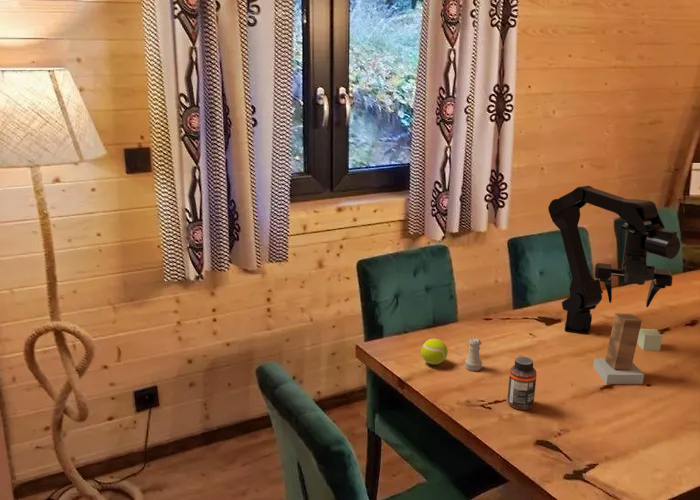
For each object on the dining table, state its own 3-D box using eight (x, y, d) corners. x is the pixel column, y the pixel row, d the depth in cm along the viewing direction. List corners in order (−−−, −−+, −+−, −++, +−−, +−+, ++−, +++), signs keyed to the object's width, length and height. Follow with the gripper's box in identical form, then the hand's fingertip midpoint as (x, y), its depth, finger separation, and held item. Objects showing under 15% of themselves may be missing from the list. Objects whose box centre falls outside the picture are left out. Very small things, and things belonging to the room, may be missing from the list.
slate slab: (592, 368, 176) (594, 358, 175) (627, 369, 176) (628, 358, 175) (606, 385, 167) (607, 374, 166) (642, 385, 168) (644, 374, 167)
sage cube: (643, 350, 186) (645, 335, 185) (637, 343, 190) (639, 328, 189) (659, 350, 186) (662, 335, 184) (653, 343, 190) (656, 329, 189)
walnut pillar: (605, 360, 173) (615, 313, 169) (621, 361, 174) (631, 313, 170) (614, 368, 169) (624, 320, 165) (630, 369, 169) (641, 320, 166)
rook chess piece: (481, 372, 172) (484, 343, 170) (463, 370, 173) (465, 341, 171) (482, 364, 176) (484, 336, 174) (464, 362, 177) (466, 334, 175)
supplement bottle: (512, 395, 161) (516, 351, 158) (537, 402, 158) (542, 358, 155) (502, 405, 156) (506, 361, 153) (527, 413, 153) (532, 368, 150)
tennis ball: (424, 370, 173) (425, 345, 171) (418, 358, 179) (419, 334, 177) (449, 368, 174) (451, 344, 172) (442, 357, 180) (444, 333, 178)
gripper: (599, 253, 173) (591, 310, 178) (679, 261, 168) (669, 320, 172) (598, 242, 184) (591, 296, 188) (673, 249, 178) (665, 305, 183)
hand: (628, 304), depth 183 cm, fingers open, 9 cm apart
